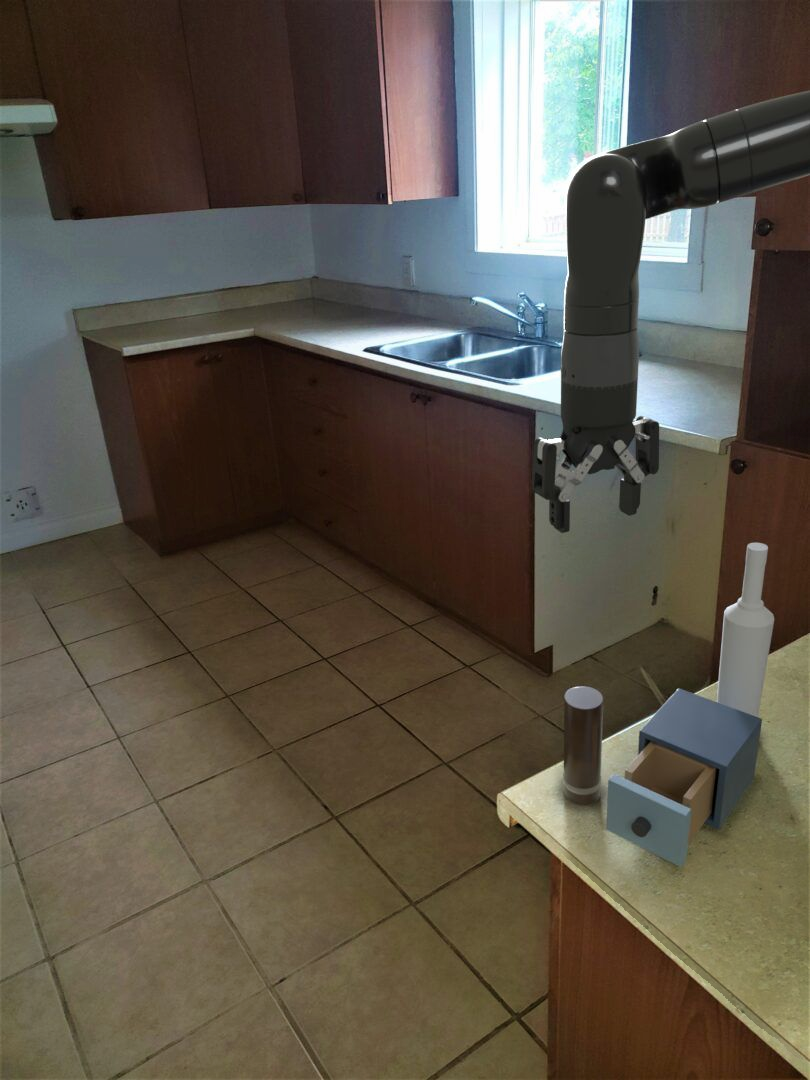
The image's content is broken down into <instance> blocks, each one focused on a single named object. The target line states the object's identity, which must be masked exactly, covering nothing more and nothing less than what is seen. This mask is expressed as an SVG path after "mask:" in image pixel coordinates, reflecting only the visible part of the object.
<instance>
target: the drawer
mask: <svg viewBox="0 0 810 1080" xmlns="http://www.w3.org/2000/svg"><path fill="white" fill-rule="evenodd" d="M715 776H716V768H715V767H713V766H710V765H708V764H705V763H703V762H701V761H698V760H696V759H693V758H691V757H689V756H686V755H684V754H681V753H679V752H677V751H674V750H672V749H670V748H667V747H665V746H662V745H660V744H658V743H655V742H653V741H651V742H650V743H649V744H648V745H647V746H646V747H645V748H644V750H643V751H642V752H641V753H640V754H639V755H638V754H637V756H636V757H635V758H634V760H632V762H631V763H630V764H629V765H628V766H627V768H625V770H624V777H622V776H620V775H618V774H616V773H613V774H612V775H611V776H610V777H609V779H608V780H607V796H606V797H607V801H606V823H605V824H606V825H605V830H607V831H609V832H610V833H613V834H615V835H616V836H617V837H620V838H622V839H624V840H626V841H628V842H630V843H631V844H634V845H636V846H637V847H640V848H641V849H644V850H646V851H648V852H649V853H652V854H653V855H656V856H657V857H659V858H661V859H663V860H665V861H667V862H669V863H671V864H672V865H675V866H677V867H679V868H682V867H683V866H684V865H685V863H686V861H687V858H688V847H689V845H690V844H691V842H692V841H693V839H694V838H695V837H696V835H697V834H698V832H699V831H700V829H702V827H703V825H704V824H705V821H706V820H707V818H708V817H709V816H710V814H711V811H712V802H713V794H714V785H715Z"/></svg>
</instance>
